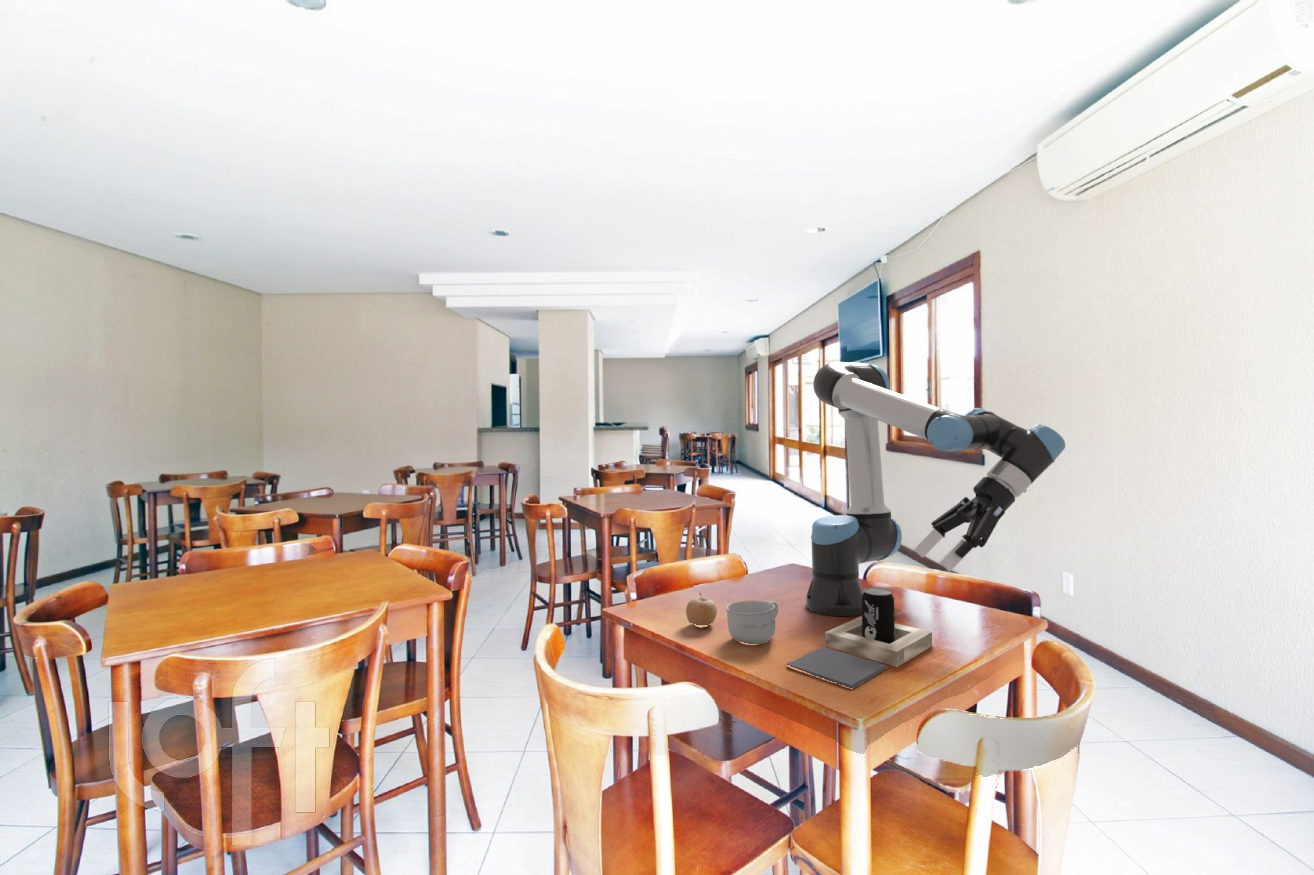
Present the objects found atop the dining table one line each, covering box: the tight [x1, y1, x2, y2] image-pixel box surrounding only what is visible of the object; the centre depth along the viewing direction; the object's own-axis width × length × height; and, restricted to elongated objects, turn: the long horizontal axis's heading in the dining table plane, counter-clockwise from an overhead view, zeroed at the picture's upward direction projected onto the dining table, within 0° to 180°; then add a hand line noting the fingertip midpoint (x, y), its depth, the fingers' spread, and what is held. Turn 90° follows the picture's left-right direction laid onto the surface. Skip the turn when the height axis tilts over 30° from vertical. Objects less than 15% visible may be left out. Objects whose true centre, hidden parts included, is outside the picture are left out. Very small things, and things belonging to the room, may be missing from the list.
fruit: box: [685, 592, 718, 625], centre depth 144 cm, size 8×7×8 cm
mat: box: [786, 646, 887, 689], centre depth 117 cm, size 14×13×1 cm
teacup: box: [725, 600, 779, 645], centre depth 134 cm, size 14×11×8 cm
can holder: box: [824, 615, 933, 668], centre depth 129 cm, size 16×16×3 cm
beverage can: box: [861, 586, 896, 644], centre depth 128 cm, size 7×7×12 cm
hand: (930, 559), depth 127 cm, fingers open, 13 cm apart
